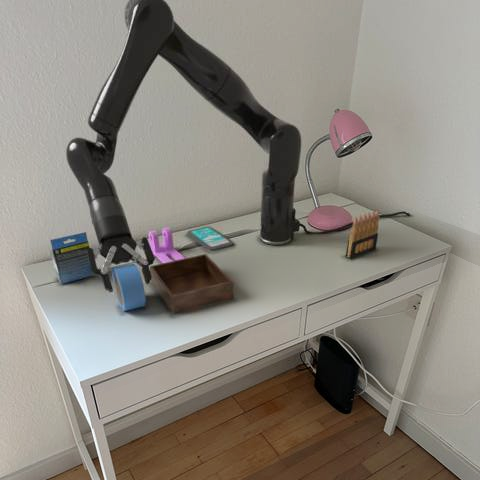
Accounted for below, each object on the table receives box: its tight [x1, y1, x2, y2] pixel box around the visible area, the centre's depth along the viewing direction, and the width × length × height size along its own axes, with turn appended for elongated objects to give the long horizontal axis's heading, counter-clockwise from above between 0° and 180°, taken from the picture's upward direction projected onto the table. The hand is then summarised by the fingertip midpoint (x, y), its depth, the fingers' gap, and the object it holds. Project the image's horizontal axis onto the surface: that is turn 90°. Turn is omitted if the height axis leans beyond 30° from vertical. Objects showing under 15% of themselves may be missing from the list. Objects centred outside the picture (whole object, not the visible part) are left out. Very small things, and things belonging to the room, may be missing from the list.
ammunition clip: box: [345, 209, 380, 260], centre depth 128 cm, size 11×2×12 cm, turn 126°
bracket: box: [148, 226, 186, 263], centre depth 126 cm, size 13×6×7 cm, turn 33°
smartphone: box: [186, 226, 234, 252], centre depth 138 cm, size 9×1×15 cm
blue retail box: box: [50, 231, 92, 285], centre depth 116 cm, size 9×4×12 cm, turn 123°
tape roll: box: [111, 263, 146, 312], centre depth 105 cm, size 5×10×10 cm, turn 27°
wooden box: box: [149, 253, 234, 315], centre depth 112 cm, size 15×16×5 cm
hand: (130, 287), depth 104 cm, fingers open, 8 cm apart
